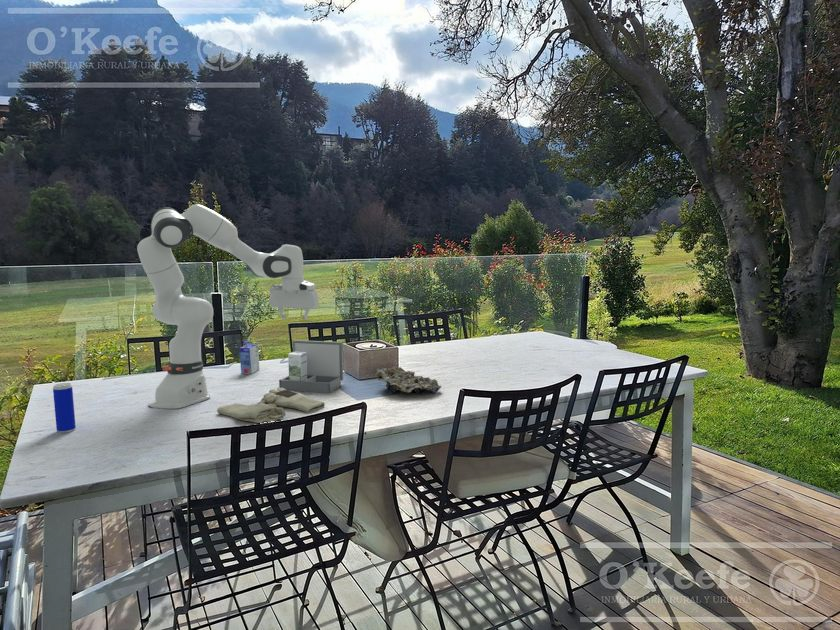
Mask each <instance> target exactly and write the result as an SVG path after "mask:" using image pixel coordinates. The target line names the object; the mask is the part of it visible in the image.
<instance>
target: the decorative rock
mask: <svg viewBox="0 0 840 630" xmlns="http://www.w3.org/2000/svg"><path fill="white" fill-rule="evenodd" d="M415 374H416V373H415V372H414V371H411V370H405V369H403V368H402V367H399V366H398V367H396V366H394V365H392V367H389V368H388V367H387V368H385V367H384V368H377V369H376V379H377V380H378V381H379V382H385V383H386V385H385V387H386V388H387V389H389V390H390V391H391V392H393V393H395V392H397V391H401V392H404V393H411V392H412V391H413V390H414V392H415V394H419V393H420V392H422V391H424V390H428V391H429V392H430V393H431V394H434V393H438V392H439V390H441V388H442V385H439V382H438V380H437V379H435V378H433V379H432V378H430V377H429V376H427V377H424V376H423V375H415Z"/></svg>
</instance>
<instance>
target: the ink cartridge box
mask: <svg viewBox="0 0 840 630" xmlns="http://www.w3.org/2000/svg"><path fill="white" fill-rule="evenodd" d="M243 342H244V343H243V344H244V345H243V346H240V347H239V361H240V363H239V364H240V372H241V373H240V374H242V375H244V374H245V375H252V374H254V373H255V372H257V371H259V370H260V357H259V356H260V354H259V353H260V352H259V343H249V341H248V339H247V340H244V341H243Z"/></svg>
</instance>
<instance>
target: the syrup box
mask: <svg viewBox="0 0 840 630" xmlns="http://www.w3.org/2000/svg"><path fill="white" fill-rule="evenodd" d="M287 357H288V359H287V360H288V362H287V363H288V376H289V380H294V381H305V380H307V354H306V352H293V351H291V352H289V353H288V354H287Z"/></svg>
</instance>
